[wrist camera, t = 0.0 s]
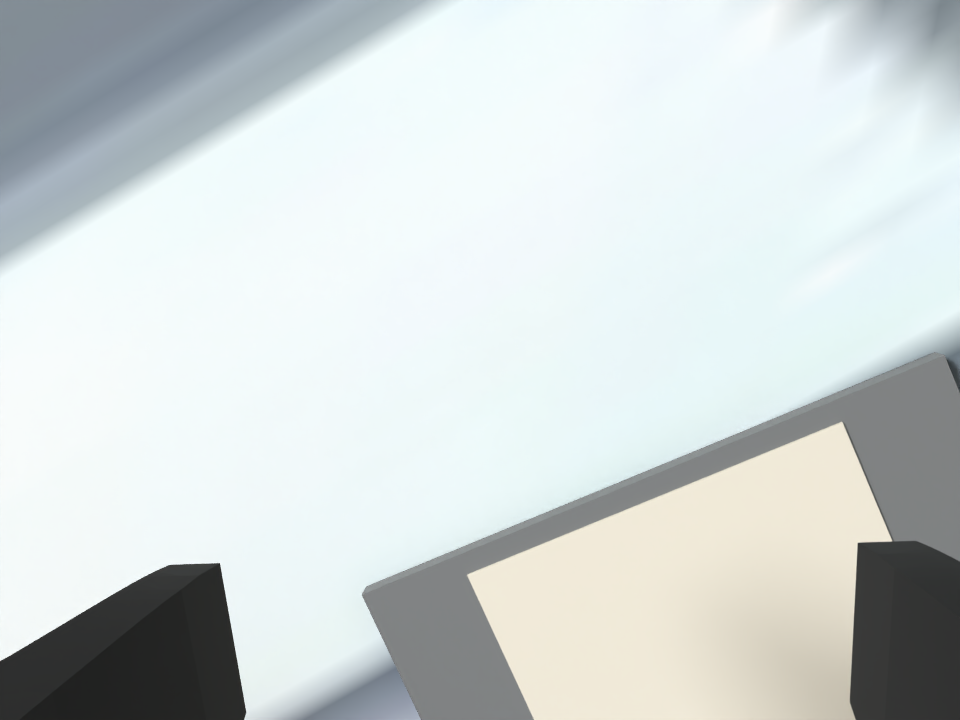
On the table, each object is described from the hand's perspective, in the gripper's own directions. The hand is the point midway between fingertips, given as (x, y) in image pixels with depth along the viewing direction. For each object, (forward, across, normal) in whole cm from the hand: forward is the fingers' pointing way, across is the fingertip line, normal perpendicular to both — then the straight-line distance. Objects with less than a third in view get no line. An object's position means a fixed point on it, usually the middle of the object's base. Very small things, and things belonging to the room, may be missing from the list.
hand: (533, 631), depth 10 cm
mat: (+9, -4, +7) cm, 13 cm away
